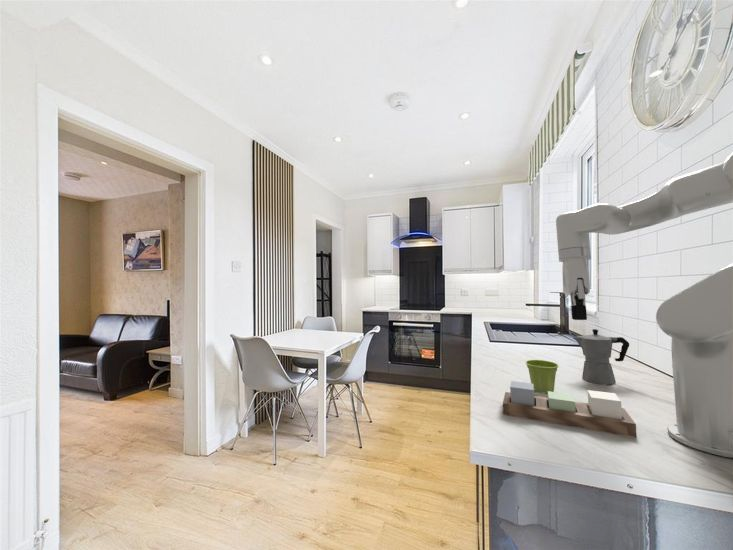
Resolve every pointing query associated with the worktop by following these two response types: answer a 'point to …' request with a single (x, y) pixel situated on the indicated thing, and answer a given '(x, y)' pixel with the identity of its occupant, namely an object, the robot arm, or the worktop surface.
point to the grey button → (522, 393)
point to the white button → (604, 404)
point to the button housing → (570, 416)
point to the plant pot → (542, 374)
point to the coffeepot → (599, 356)
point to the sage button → (561, 401)
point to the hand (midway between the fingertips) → (579, 319)
